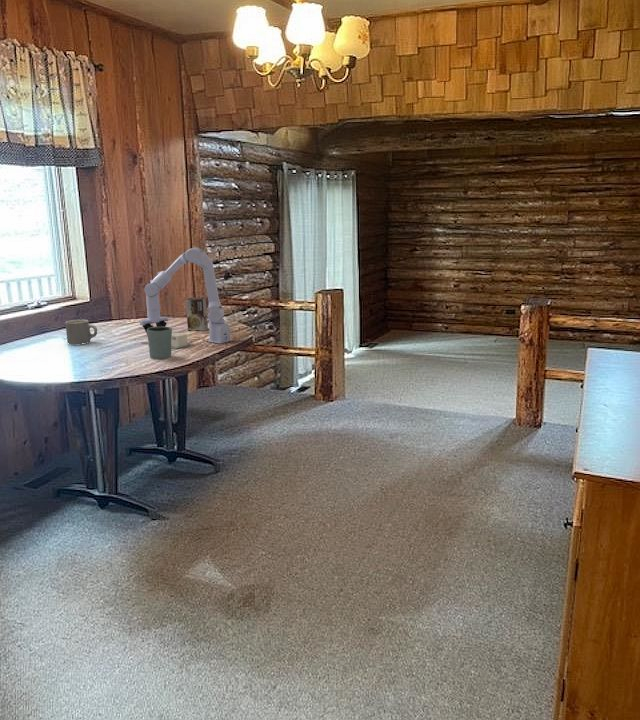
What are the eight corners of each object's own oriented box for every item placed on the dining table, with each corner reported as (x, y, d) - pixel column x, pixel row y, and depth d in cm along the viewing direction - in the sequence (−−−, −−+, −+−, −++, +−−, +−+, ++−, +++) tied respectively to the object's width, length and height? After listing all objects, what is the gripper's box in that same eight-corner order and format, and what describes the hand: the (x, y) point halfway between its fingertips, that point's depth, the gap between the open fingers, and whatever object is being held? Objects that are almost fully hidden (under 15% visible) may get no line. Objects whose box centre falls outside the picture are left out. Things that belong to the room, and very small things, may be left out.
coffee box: (208, 328, 326) (206, 297, 322) (204, 331, 319) (203, 299, 316) (191, 328, 326) (189, 297, 323) (187, 331, 320) (185, 299, 317)
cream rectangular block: (187, 345, 284) (186, 334, 283) (178, 347, 280) (177, 336, 279) (173, 342, 290) (172, 331, 289) (164, 344, 286) (163, 333, 285)
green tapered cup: (152, 354, 269) (150, 326, 266) (176, 354, 268) (174, 326, 266) (145, 359, 259) (143, 330, 256) (170, 359, 259) (168, 330, 256)
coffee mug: (63, 345, 290) (61, 323, 288) (73, 340, 299) (71, 319, 297) (92, 345, 289) (90, 323, 287) (101, 340, 299) (99, 319, 296)
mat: (193, 345, 286) (193, 344, 286) (174, 349, 277) (174, 348, 277) (160, 339, 300) (160, 338, 300) (141, 343, 292) (140, 342, 292)
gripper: (160, 306, 298) (162, 335, 301) (134, 310, 287) (137, 340, 290) (170, 308, 294) (172, 336, 297) (144, 312, 283) (146, 341, 286)
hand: (155, 338), depth 294 cm, fingers closed on stub, 5 cm apart
